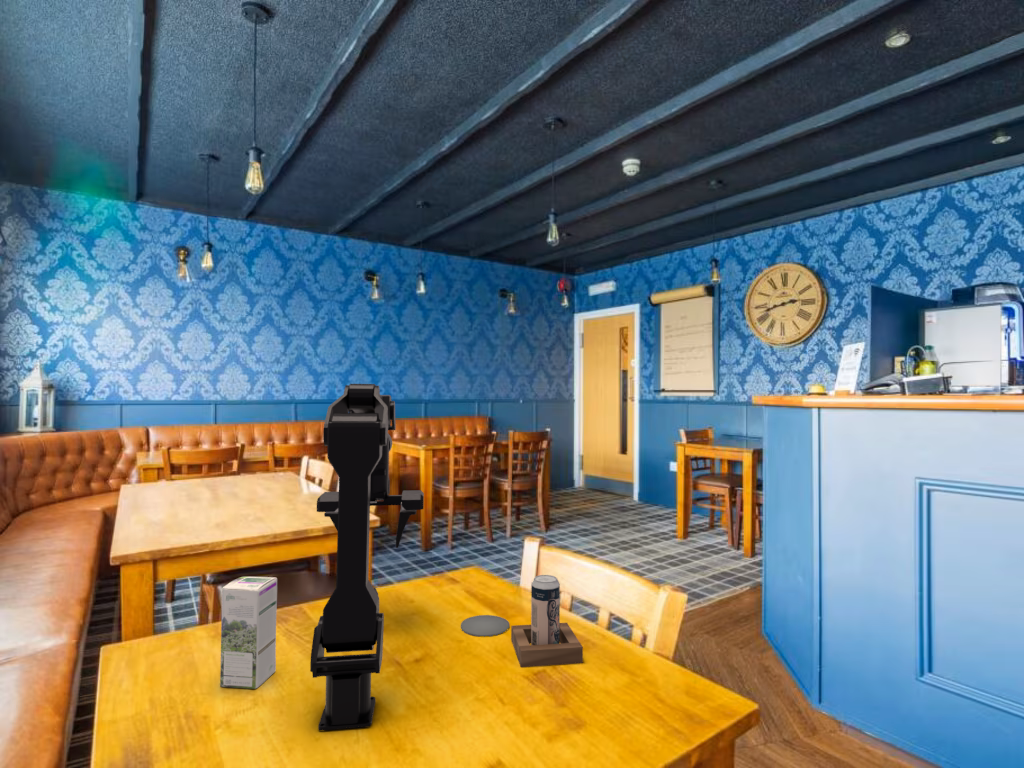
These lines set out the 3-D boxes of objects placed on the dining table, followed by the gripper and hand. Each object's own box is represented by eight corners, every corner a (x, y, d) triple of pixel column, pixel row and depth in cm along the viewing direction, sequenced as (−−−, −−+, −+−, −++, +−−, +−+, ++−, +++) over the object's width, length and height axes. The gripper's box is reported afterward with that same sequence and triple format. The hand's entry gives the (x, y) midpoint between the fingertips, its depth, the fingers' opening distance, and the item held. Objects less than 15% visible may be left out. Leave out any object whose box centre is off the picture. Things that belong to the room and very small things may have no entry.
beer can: (557, 659, 89) (558, 583, 90) (528, 656, 90) (529, 581, 91) (561, 646, 94) (561, 575, 94) (533, 643, 95) (533, 573, 95)
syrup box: (277, 671, 85) (279, 575, 85) (255, 691, 79) (257, 588, 79) (241, 669, 85) (244, 574, 86) (217, 688, 79) (220, 586, 80)
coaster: (512, 635, 98) (512, 632, 98) (462, 638, 97) (462, 635, 97) (505, 616, 107) (505, 614, 107) (459, 618, 106) (459, 616, 106)
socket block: (582, 662, 88) (582, 647, 88) (520, 667, 86) (520, 650, 86) (567, 636, 98) (567, 622, 98) (511, 640, 96) (511, 625, 96)
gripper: (424, 458, 111) (423, 536, 110) (328, 458, 108) (326, 539, 108) (423, 463, 100) (422, 550, 99) (316, 465, 97) (315, 554, 97)
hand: (371, 548), depth 101 cm, fingers open, 9 cm apart
